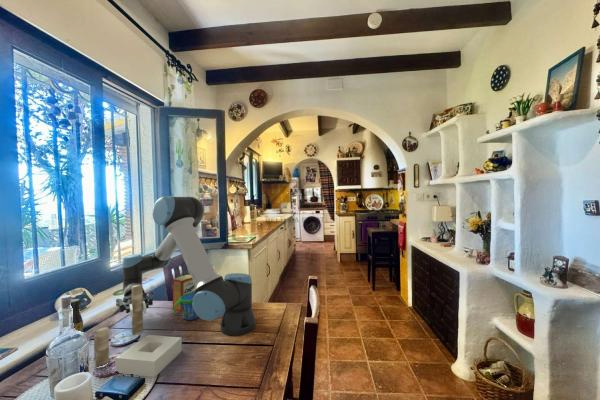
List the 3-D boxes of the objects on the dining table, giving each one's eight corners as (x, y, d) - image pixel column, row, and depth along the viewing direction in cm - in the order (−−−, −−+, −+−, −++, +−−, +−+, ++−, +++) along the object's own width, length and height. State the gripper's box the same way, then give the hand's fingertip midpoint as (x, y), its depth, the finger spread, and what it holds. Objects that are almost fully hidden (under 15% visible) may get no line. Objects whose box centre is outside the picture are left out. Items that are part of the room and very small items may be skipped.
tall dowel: (145, 330, 98) (144, 284, 98) (138, 335, 95) (137, 287, 95) (137, 330, 99) (136, 284, 99) (129, 335, 95) (129, 287, 95)
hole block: (181, 351, 93) (181, 337, 93) (154, 377, 79) (154, 361, 79) (147, 348, 95) (147, 334, 95) (115, 373, 81) (115, 357, 81)
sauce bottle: (68, 362, 87) (68, 305, 87) (54, 360, 88) (53, 303, 88) (87, 351, 93) (87, 298, 93) (74, 349, 94) (74, 296, 94)
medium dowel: (111, 362, 87) (111, 327, 87) (102, 369, 83) (102, 332, 83) (102, 361, 87) (102, 326, 87) (92, 368, 84) (92, 332, 84)
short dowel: (109, 354, 91) (109, 332, 91) (100, 360, 88) (100, 337, 88) (100, 353, 92) (100, 331, 92) (91, 359, 88) (91, 336, 88)
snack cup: (175, 326, 112) (175, 303, 112) (172, 317, 120) (172, 296, 120) (211, 317, 120) (211, 295, 120) (206, 309, 129) (206, 289, 129)
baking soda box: (188, 303, 137) (188, 273, 137) (196, 305, 134) (196, 275, 135) (172, 309, 129) (172, 278, 129) (181, 312, 126) (181, 280, 126)
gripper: (155, 297, 116) (163, 315, 97) (111, 307, 106) (110, 328, 87) (155, 281, 116) (163, 296, 97) (110, 289, 106) (110, 307, 87)
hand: (138, 311), depth 92 cm, fingers closed on tall dowel, 3 cm apart
